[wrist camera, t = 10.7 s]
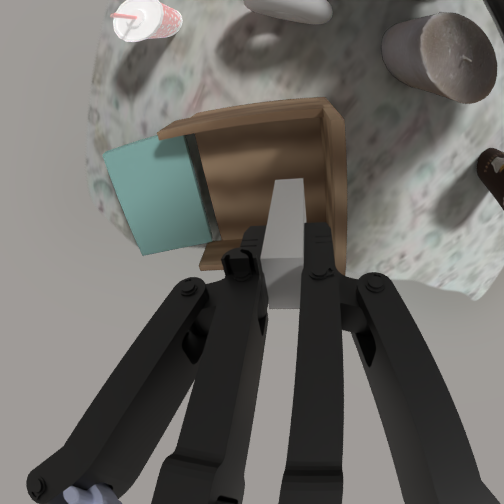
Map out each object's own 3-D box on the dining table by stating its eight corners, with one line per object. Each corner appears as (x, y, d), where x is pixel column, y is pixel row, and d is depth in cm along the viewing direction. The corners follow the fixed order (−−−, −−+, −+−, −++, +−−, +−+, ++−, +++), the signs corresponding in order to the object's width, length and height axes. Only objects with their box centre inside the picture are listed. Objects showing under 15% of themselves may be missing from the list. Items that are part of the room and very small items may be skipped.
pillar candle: (453, 64, 26) (518, 77, 15) (411, 100, 32) (465, 126, 20) (410, 10, 23) (465, -6, 12) (364, 46, 28) (404, 41, 17)
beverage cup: (140, 36, 30) (80, 38, 19) (157, -1, 26) (100, -15, 15) (177, 47, 31) (125, 48, 20) (195, 9, 28) (150, -8, 17)
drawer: (182, 116, 38) (133, 149, 26) (324, 96, 34) (344, 119, 22) (213, 235, 50) (189, 300, 38) (332, 227, 46) (343, 295, 34)
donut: (246, 15, 28) (232, 2, 20) (251, -7, 26) (239, -26, 18) (324, 31, 28) (335, 22, 20) (329, 9, 26) (342, -6, 18)
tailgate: (184, 126, 37) (108, 149, 38) (181, 130, 35) (102, 154, 36) (212, 232, 48) (145, 246, 48) (212, 241, 46) (142, 255, 46)
